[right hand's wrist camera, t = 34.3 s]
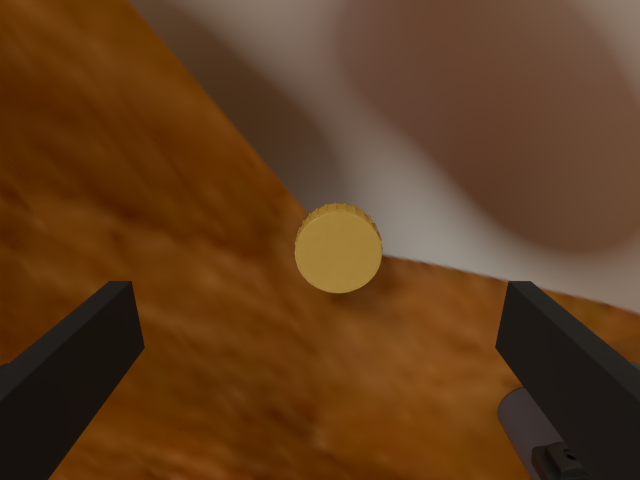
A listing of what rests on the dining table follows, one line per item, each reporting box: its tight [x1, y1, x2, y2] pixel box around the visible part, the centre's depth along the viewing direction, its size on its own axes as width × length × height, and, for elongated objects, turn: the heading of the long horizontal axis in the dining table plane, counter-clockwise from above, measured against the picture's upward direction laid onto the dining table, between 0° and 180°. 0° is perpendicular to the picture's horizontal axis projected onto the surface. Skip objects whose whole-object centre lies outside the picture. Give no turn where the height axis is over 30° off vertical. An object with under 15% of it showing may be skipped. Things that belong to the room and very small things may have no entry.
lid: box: [294, 202, 383, 293], centre depth 20 cm, size 5×5×2 cm
